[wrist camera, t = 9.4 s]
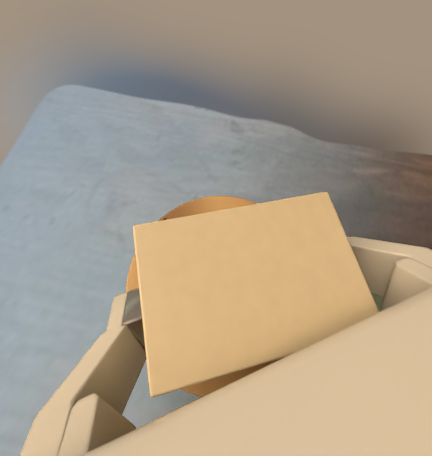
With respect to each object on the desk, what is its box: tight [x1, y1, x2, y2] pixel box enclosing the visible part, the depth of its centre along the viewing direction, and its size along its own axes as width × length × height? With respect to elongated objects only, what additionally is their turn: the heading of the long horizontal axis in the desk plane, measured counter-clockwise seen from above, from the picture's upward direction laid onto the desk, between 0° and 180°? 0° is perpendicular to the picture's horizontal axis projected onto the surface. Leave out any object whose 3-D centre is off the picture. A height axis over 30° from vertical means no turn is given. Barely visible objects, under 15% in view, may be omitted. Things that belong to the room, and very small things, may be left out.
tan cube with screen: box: [133, 192, 379, 397], centre depth 8 cm, size 5×6×6 cm
